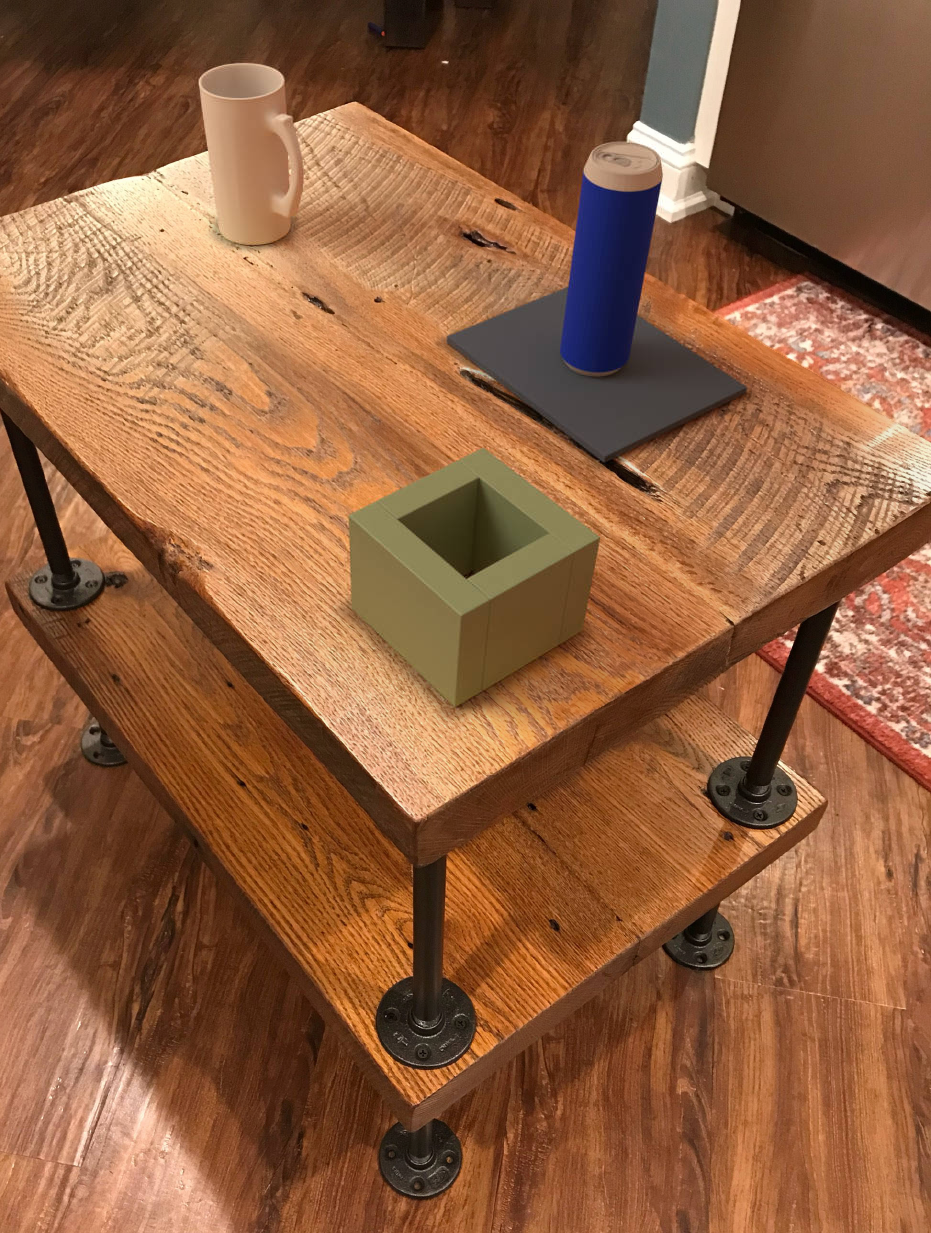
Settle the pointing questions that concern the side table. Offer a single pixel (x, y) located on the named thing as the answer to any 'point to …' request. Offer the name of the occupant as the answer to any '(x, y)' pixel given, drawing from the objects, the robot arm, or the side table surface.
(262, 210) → the mug
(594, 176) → the beverage can
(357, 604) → the can holder
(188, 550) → the side table surface
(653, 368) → the mat
